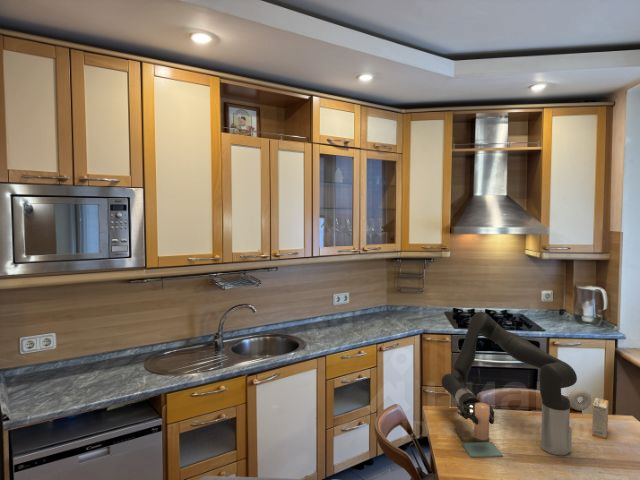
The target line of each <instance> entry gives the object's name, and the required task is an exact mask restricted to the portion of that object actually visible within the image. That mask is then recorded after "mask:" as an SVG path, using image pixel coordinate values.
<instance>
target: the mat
mask: <svg viewBox="0 0 640 480" xmlns="http://www.w3.org/2000/svg"><path fill="white" fill-rule="evenodd" d="M461 445H462V447H463V448H464V449H465V451H466V453H467V454H468V455H469V458H471V459H472V458H503V457H504V455H503V453H502V452H501V451H500V450H499V449H498V447H497V445H495V444H494V442H493V441H489V442H474V443H463V442H461Z"/></svg>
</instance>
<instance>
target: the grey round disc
mask: <svg viewBox="0 0 640 480" xmlns="http://www.w3.org/2000/svg"><path fill="white" fill-rule="evenodd" d="M580 397H582V400H581V401H580V402H578V398H580ZM567 398H568V399H569V401H570V408H572V409H574V410H575V411H585V410H588V408H590V406H591V404H592V397H591V394H590V393H589V392H588V391H587V390H585V389H583V388H577V389H574V390H572V391H570V393H569V394H568V397H567Z"/></svg>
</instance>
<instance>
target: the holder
mask: <svg viewBox="0 0 640 480" xmlns="http://www.w3.org/2000/svg"><path fill="white" fill-rule="evenodd" d="M453 430H454V432H455V434H456V435H457V436H458V438H459V439H460V441H461V443H474V442H490V438H489V439H487V440H481V439H478V438H476V437H475V436H474V437H465V435H463V433H462V432H461V430H460V428H459V427H458V426H454V427H453Z"/></svg>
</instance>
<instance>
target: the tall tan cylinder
mask: <svg viewBox="0 0 640 480" xmlns="http://www.w3.org/2000/svg"><path fill="white" fill-rule="evenodd" d="M490 406H491V405H489V403H488V404H487V403H484V402H480V403H476V404H475V416H476V417H477V418H478V424H477V425H476V424H475V423H473V424H474V429H473V434H474V437H476V438H478V439H481V440H487V439H489V440H490V422H489V414H490Z"/></svg>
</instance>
